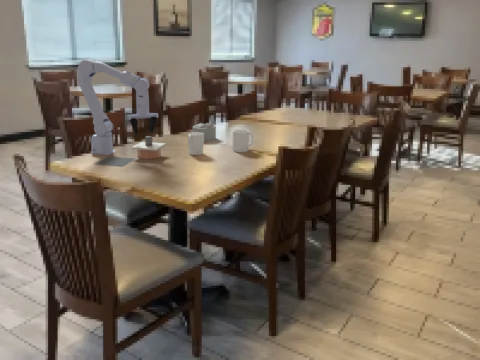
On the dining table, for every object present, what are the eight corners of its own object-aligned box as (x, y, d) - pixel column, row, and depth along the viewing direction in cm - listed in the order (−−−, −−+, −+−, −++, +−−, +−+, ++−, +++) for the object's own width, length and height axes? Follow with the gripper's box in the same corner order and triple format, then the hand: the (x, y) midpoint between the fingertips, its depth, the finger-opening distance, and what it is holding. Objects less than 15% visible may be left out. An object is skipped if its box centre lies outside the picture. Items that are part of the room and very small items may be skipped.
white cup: (201, 156, 218) (201, 135, 215) (185, 154, 220) (185, 134, 217) (205, 152, 226) (205, 132, 223) (190, 151, 227) (190, 131, 224)
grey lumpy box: (190, 138, 255) (190, 123, 252) (209, 136, 262) (209, 121, 260) (200, 142, 247) (200, 126, 244) (220, 139, 255) (220, 124, 252)
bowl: (135, 158, 210) (134, 148, 209) (143, 153, 220) (143, 143, 218) (155, 160, 209) (154, 150, 207) (163, 155, 218) (162, 145, 216)
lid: (131, 148, 208) (131, 138, 207) (142, 143, 219) (141, 133, 218) (156, 150, 206) (155, 140, 204) (165, 144, 217) (165, 135, 216)
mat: (93, 165, 199) (92, 164, 199) (108, 157, 212) (108, 156, 212) (122, 167, 196) (122, 166, 196) (136, 159, 209) (136, 158, 209)
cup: (229, 149, 232) (229, 130, 229) (248, 147, 238) (248, 128, 235) (238, 153, 225) (238, 133, 222) (257, 150, 232) (258, 130, 229)
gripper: (130, 107, 204) (131, 136, 208) (160, 105, 212) (161, 133, 216) (125, 104, 210) (126, 133, 214) (154, 103, 218) (155, 131, 222)
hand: (143, 133), depth 215 cm, fingers open, 7 cm apart
